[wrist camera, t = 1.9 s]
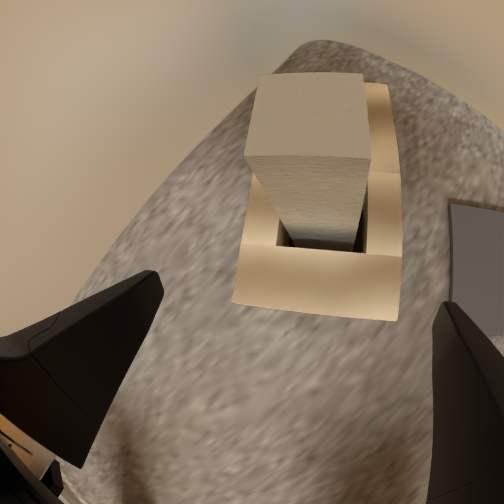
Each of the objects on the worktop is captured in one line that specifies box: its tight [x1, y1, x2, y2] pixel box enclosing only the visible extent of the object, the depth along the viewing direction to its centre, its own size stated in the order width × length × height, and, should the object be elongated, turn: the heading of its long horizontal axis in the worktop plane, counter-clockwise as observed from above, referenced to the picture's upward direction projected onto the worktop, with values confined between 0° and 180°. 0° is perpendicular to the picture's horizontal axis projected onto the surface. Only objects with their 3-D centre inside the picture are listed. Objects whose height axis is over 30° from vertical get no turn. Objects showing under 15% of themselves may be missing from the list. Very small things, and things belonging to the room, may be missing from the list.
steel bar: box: [243, 72, 371, 252], centre depth 14 cm, size 4×4×13 cm
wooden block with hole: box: [232, 82, 403, 321], centre depth 19 cm, size 18×10×4 cm, turn 173°
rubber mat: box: [448, 203, 504, 336], centre depth 15 cm, size 10×10×1 cm
